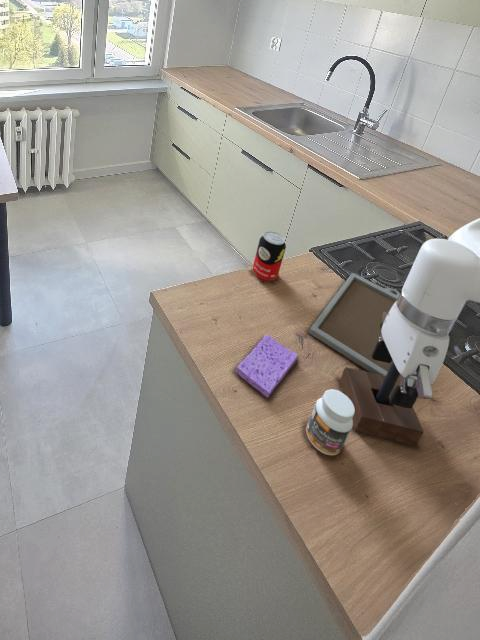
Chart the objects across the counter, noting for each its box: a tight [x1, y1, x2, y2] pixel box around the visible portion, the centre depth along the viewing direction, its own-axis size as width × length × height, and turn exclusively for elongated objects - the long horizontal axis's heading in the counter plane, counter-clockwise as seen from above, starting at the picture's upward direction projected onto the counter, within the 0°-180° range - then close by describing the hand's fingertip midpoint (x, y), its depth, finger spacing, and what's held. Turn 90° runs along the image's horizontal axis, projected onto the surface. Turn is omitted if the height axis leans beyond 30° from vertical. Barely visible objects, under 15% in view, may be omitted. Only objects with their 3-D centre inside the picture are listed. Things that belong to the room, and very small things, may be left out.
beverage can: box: [252, 231, 287, 281], centre depth 108 cm, size 6×6×12 cm
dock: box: [339, 366, 425, 446], centre depth 78 cm, size 10×10×4 cm
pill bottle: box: [305, 389, 355, 456], centre depth 71 cm, size 6×6×10 cm
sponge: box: [235, 333, 299, 399], centre depth 85 cm, size 7×13×2 cm, turn 132°
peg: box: [375, 362, 400, 405], centre depth 76 cm, size 2×2×13 cm
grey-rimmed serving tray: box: [308, 272, 417, 387], centre depth 97 cm, size 19×2×30 cm
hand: (389, 380), depth 75 cm, fingers open, 8 cm apart
